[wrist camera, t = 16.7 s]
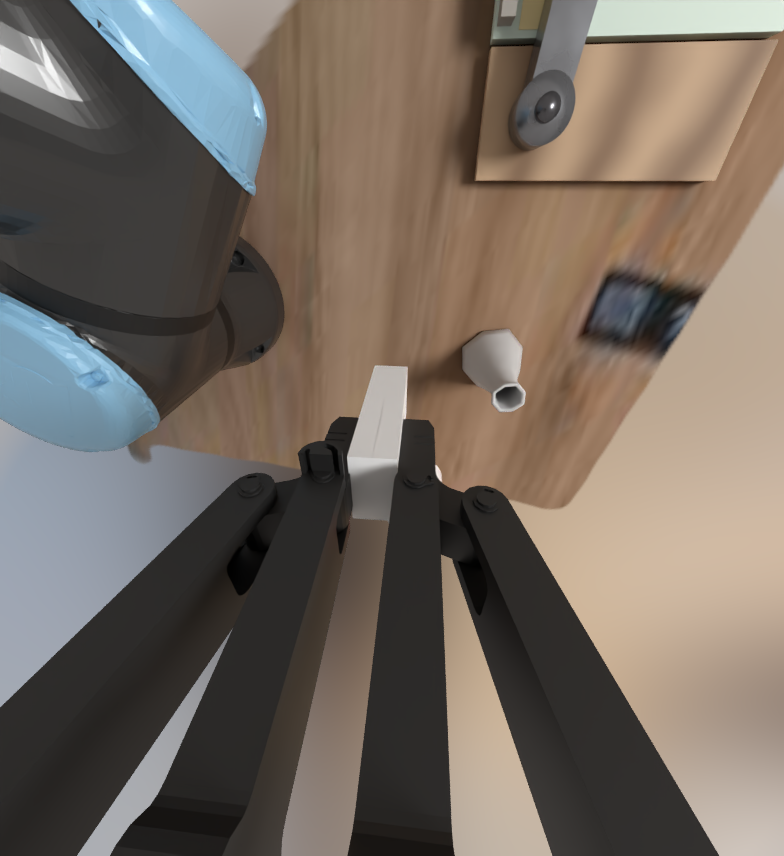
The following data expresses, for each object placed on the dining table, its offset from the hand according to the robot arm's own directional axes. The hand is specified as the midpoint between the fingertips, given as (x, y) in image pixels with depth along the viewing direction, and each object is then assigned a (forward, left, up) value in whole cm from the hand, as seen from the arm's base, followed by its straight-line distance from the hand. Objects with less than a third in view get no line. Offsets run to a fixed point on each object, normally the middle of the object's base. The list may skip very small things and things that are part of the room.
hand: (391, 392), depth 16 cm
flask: (+10, -8, -25) cm, 28 cm away
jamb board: (+16, +13, -24) cm, 32 cm away
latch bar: (+10, +17, -23) cm, 30 cm away
